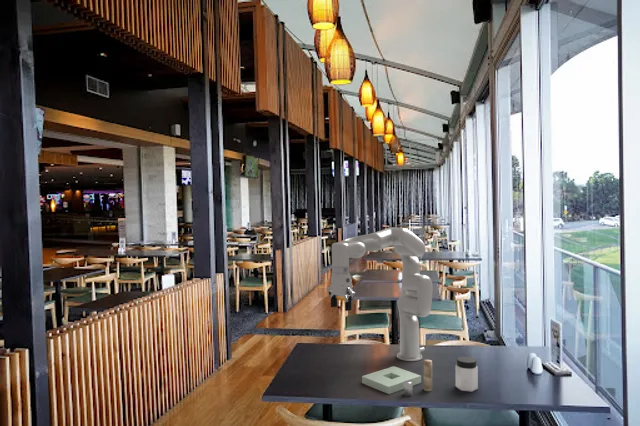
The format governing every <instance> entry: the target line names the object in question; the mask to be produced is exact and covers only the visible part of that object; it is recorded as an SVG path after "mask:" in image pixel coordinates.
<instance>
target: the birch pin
mask: <svg viewBox="0 0 640 426" xmlns="http://www.w3.org/2000/svg"><path fill="white" fill-rule="evenodd" d="M423 391H425V392H432V391H433V361H432V360H431V359H424V360H423Z"/></svg>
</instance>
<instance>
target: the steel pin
mask: <svg viewBox="0 0 640 426" xmlns="http://www.w3.org/2000/svg"><path fill="white" fill-rule="evenodd" d="M413 386H414V385H413V382H412V381H404V389H403V395H404V396H407V397H412V396H413V395H414V393H413V392H414V391H413V389H414V387H413Z"/></svg>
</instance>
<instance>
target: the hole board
mask: <svg viewBox="0 0 640 426" xmlns="http://www.w3.org/2000/svg"><path fill="white" fill-rule="evenodd" d="M404 381H412V382H413V386H416V385H418V384H421V383H422V375H420V374H418V373H414V372H411V371H409V370H406V369H403V368H400V367H397V366H396V365H395V366H390V367H388V368H384V369H381V370H377V371H375V372H371V373H368V374H364V375H361V383H362V384H364V385H366V386H368V387H370V388H372V389H375V390H378V391H380V392H383V393H385V394H387V395H391V394H394V393H396V392H399V391H401V390H404Z"/></svg>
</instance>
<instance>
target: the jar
mask: <svg viewBox="0 0 640 426" xmlns="http://www.w3.org/2000/svg"><path fill="white" fill-rule="evenodd" d="M477 360H478V359H476V358H475V357H471V356H465V355H463V356H458V357H456V364H455V366H454V368H455V370H454V371H455V387H456V388H457V389H458V390H459V391H463V392H474V391H475V390H478V389H479V381H478V380H479V379H478V378H479V377H478V376H479V373H478V372H479V371H478V370H479V367H478V366H477V363H478V362H477Z"/></svg>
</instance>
